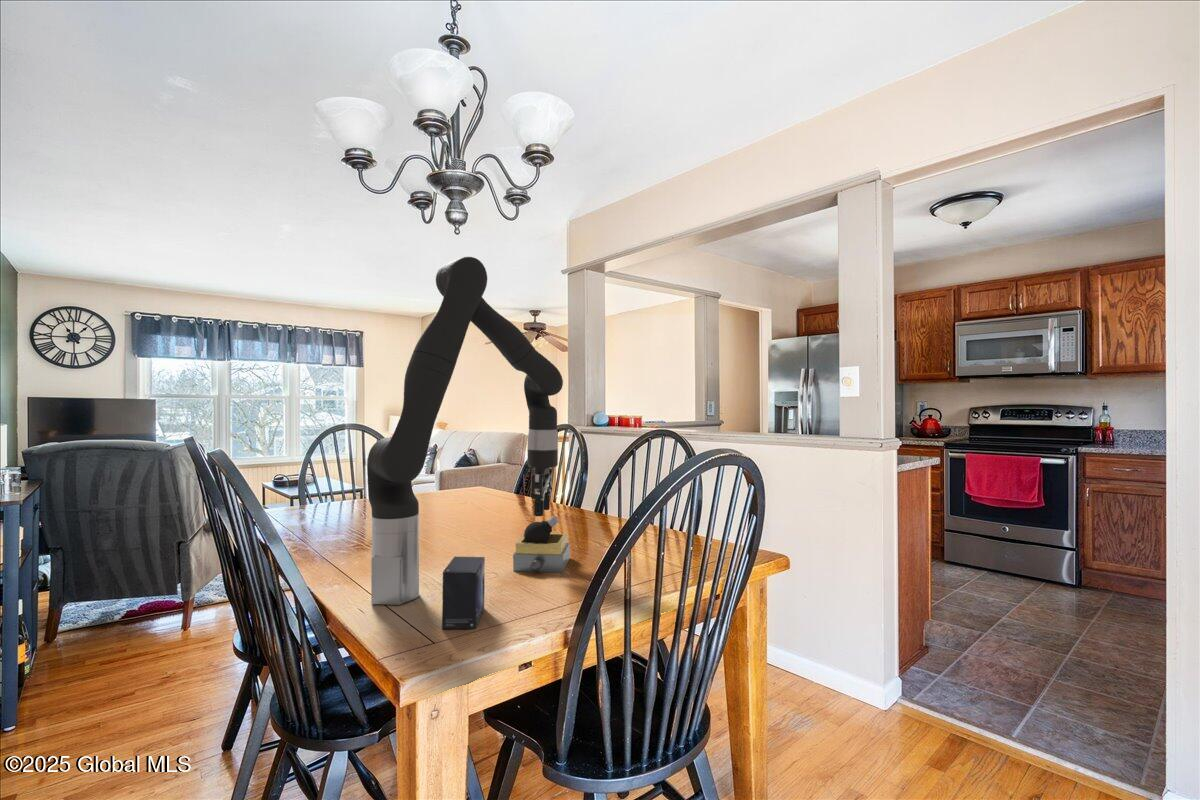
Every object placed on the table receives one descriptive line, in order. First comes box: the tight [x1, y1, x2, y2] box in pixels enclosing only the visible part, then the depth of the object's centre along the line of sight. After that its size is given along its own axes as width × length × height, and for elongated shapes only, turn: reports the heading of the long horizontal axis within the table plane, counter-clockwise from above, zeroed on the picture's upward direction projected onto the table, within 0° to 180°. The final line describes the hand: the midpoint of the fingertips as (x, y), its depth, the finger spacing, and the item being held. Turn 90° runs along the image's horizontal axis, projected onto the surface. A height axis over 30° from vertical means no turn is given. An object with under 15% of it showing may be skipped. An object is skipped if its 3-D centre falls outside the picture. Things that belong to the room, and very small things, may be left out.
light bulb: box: [523, 515, 559, 543], centre depth 142 cm, size 6×6×10 cm
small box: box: [441, 556, 486, 630], centre depth 108 cm, size 11×6×10 cm, turn 3°
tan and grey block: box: [512, 532, 571, 573], centre depth 142 cm, size 15×12×6 cm
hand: (542, 512), depth 143 cm, fingers open, 8 cm apart
